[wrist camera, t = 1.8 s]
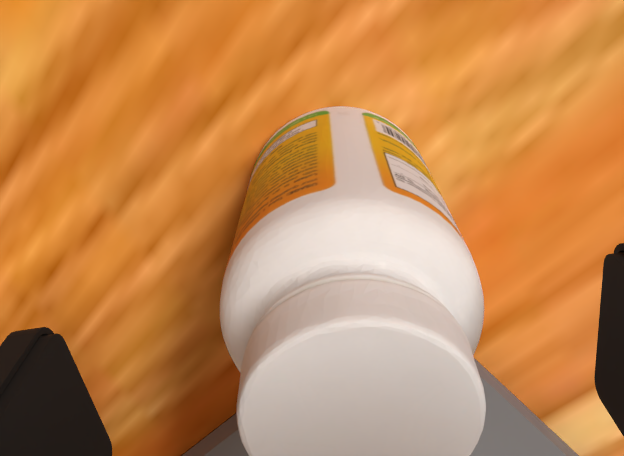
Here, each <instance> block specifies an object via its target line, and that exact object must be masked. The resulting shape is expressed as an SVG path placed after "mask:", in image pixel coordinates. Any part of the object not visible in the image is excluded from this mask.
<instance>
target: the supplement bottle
mask: <svg viewBox="0 0 624 456" xmlns="http://www.w3.org/2000/svg"><path fill="white" fill-rule="evenodd" d="M483 319H484V298H483V291H482V287H481V282H480V278H479V275H478V272H477V269H476V266H475V263H474V261H473V258H472V256H471V253H470V251H469V249H468V247H467V245H466V243H465V241H464V239H463V237H462V235H461V233H460V231H459V229H458V227H457V225H456V223H455V221H454V219H453V218H452V216H451V214H450V212H449V210H448V208H447V206H446V204H445V202H444V200H443V198H442V196H441V194H440V192H439V190H438V188H437V186H436V184H435V182H434V180H433V178H432V176H431V174H430V172H429V170H428V168H427V166H426V164H425V162H424V160H423V158H422V156H421V155H420V153H419V151H418V150H417V148H416V147H415V145H414V144H413V142H412V141H411V140H410V138H409V137H408V136H407V135H406V134H405V133H404V132H403V131H402V130H401V129H400V128H399V127H398V126H396V125H395V124H394V123H392V122H391V121H389V120H388V119H386V118H384V117H382V116H380V115H378V114H376V113H373V112H371V111H368V110H364V109H360V108H354V107H344V106H337V107H327V108H321V109H317V110H314V111H311V112H308V113H305V114H303V115H301V116H299V117H297V118H295V119H293V120H291V121H290V122H288V123H287V124H285V125H284V126H283V127H281V128H280V129H279V130H278V131H277V132H276V133H275V134H274V135H273V136H272V137H271V138H270V139H269V140H268V142H267V143H266V144H265V146H264V147H263V149H262V151H261V152H260V154H259V156H258V158H257V161H256V163H255V166H254V168H253V171H252V174H251V178H250V181H249V185H248V190H247V193H246V197H245V200H244V204H243V208H242V211H241V215H240V218H239V222H238V226H237V230H236V234H235V237H234V240H233V244H232V248H231V252H230V255H229V259H228V263H227V266H226V269H225V274H224V278H223V283H222V290H221V297H220V323H221V329H222V334H223V338H224V341H225V344H226V347H227V349H228V352H229V354H230V356H231V358H232V360H233V361H234V363H235V365H236V367H237V368H238V370H239V371H240V373H241V375H240V383H239V391H238V398H237V425H238V429H239V434H240V437H241V441H242V443H243V445H244V447H245V449H246V451H247V453H248V455H249V456H470V455H471V453H472V452H473V450H474V448H475V446H476V445H477V443H478V441H479V438H480V435H481V433H482V431H483V427H484V422H485V413H486V401H485V394H484V387H483V384H482V381H481V378H480V375H479V372H478V369H477V366H476V363H475V361H474V358H473V355H474V353H475V350H476V348H477V345H478V342H479V339H480V336H481V332H482V327H483Z"/></svg>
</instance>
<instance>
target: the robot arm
mask: <svg viewBox="0 0 624 456" xmlns="http://www.w3.org/2000/svg"><path fill="white" fill-rule="evenodd" d="M595 386H596V390H597V393H598V395H599V398H600V399H601V401H602V403H603V404H604V406H605V408H606V409H607V411H608V412H609V414H610V416H611V417H612V419H613V420H614V422H615V423H616V425H617V427H618V428H619V430H620V431H621V433H622V435H623V436H624V243H622V244H619V245H617V246H616V248H615V250H614V254H608V255H607V256H606V257H605V260H604V267H603V280H602V292H601V304H600V317H599V329H598V342H597V354H596V367H595ZM0 456H112V445H111V441H110V438H109V436H108V434H107V432H106V430H105V428H104V425H103V423H102V421H101V419H100V417H99V414H98V412H97V410H96V408H95V406H94V404H93V401H92V399H91V397H90V395H89V393H88V390H87V388H86V386H85V384H84V382H83V380H82V377H81V375H80V373H79V371H78V369H77V366H76V364H75V362H74V360H73V358H72V355H71V353H70V351H69V349H68V347H67V345H66V342H65V340H64V339H63V337H62V336H61V335H60V334H54V333H53V331H52V330H50V329H49V328H46V327H42V328H35V329H28V330H22V331H15V332H12V333H11V334H9V335H8V336H7V338H6V339H5V340H4V342H3V343H2V344H1V346H0Z"/></svg>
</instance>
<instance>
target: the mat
mask: <svg viewBox="0 0 624 456" xmlns="http://www.w3.org/2000/svg"><path fill="white" fill-rule="evenodd" d="M474 361H475V363H476V366H477V369H478V372H479V375H480V378H481V381H482V384H483V387H484V394H485V401H486V413H485V422H484V427H483V431H482V433H481V435H480V438H479V441H478V443H477V445H476V446H475V448H474V450H473V452H472V453H471V455H470V456H578V455H577V454H576V453H575V452H574V451H573V450H572V449H571V448H570V447H569V446H568V445H567V444H566V443H565V442H563V441H562V440H561V439H560V438H559V437H558V436H557V435H556V434H555V433H554V432H553V431H552V430H551V429H550V428H548V427H547V426H546V425H545V424H544V423H543V422H542V421H541V420H540V419H539V418H538V417H537V416H536V415H535V414H533V413H532V412H531V411H530V410H529V409H528V408H527V407H526V406H525V405H524V404H523V403H522V402H521V401H520V400H518V399H517V398H516V397H515V396H514V395H513V394H512V393H511V392H510V391H509V390H508V389H507V388H506V387H505V386H503V385H502V384H501V383H500V382H499V381H498V380H497V379H496V378H495V377H494V376H493V375H492V374H491V373H490V372H488V371H487V370H486V369H485V368H484V367H483V366H482V365H481V364H480V363H479V362H478V361H477V360H476V359H474ZM182 456H249V455H248V453H247V451H246V449H245V447H244V445H243V443H242V441H241V437H240V434H239V429H238V425H237V413H236V414H235V415H233V416H232V417H231V418H229V419H228V420H227V421H226V422H224V423H223V424H222V425H220V426H219V427H218V428H217V429H215V430H214V431H213V432H212V433H210V434H209V435H208V436H206V437H205V438H204V439H203V440H201V441H200V442H199V443H197V444H196V445H195V446H194V447H192V448H191V449H190V450H188V451H187V452H186V453H185V454H183V455H182Z"/></svg>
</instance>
